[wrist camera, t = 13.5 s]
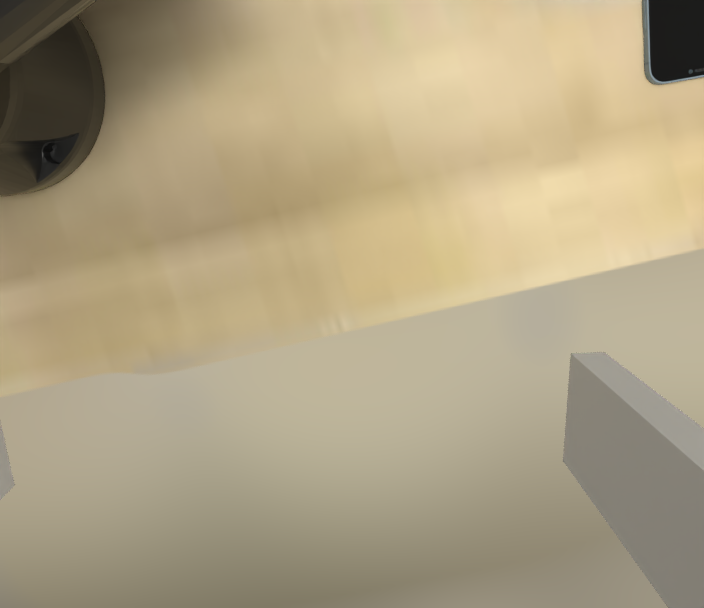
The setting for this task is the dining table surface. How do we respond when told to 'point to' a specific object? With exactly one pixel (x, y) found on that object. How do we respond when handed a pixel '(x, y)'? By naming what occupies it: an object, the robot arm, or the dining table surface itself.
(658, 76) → the smartphone
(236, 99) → the dining table surface
